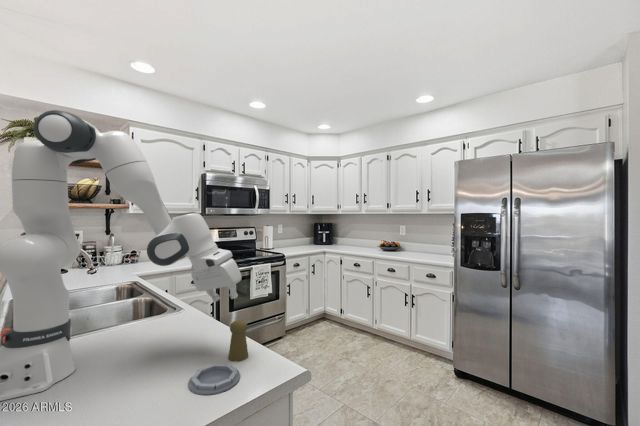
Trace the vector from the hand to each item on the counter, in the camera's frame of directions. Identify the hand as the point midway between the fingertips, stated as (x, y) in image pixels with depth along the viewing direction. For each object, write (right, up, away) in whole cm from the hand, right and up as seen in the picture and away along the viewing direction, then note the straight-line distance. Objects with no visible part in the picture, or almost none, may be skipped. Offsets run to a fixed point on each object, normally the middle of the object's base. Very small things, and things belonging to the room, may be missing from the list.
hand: (225, 299), depth 94 cm
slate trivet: (+2, -17, -15) cm, 23 cm away
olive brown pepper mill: (+4, -18, -1) cm, 18 cm away
